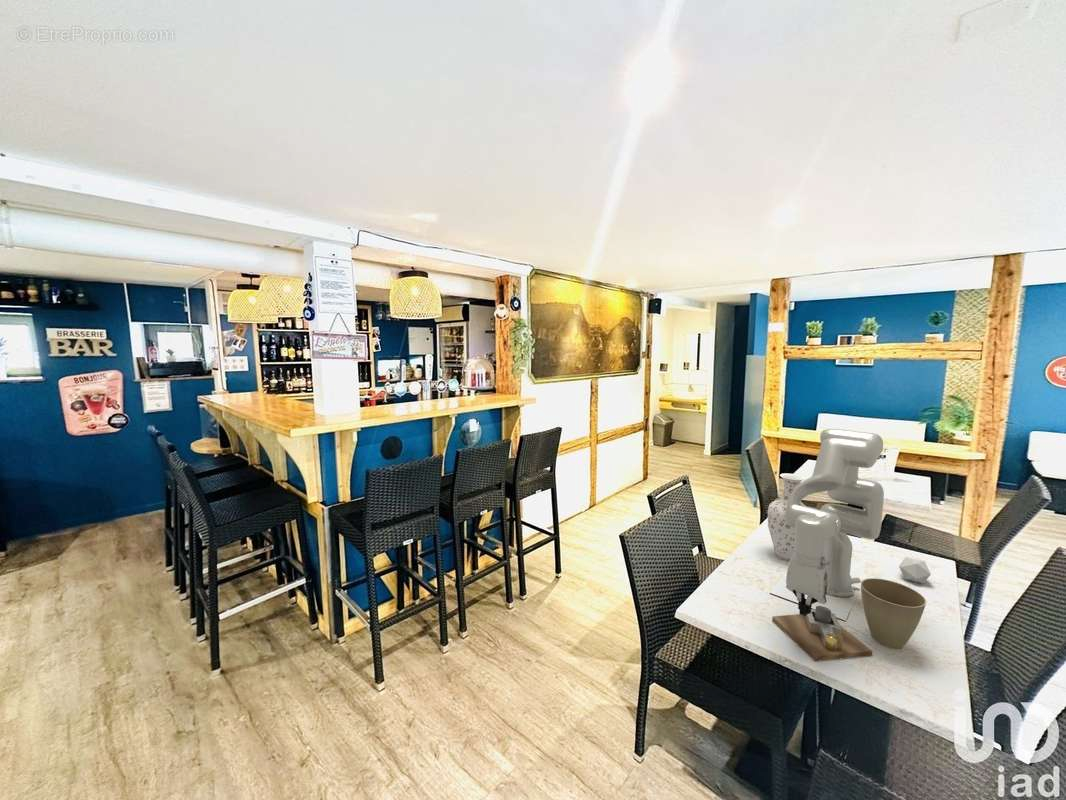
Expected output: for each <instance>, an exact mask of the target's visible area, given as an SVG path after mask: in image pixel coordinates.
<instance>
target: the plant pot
mask: <svg viewBox="0 0 1066 800" xmlns="http://www.w3.org/2000/svg"><path fill="white" fill-rule="evenodd" d="M860 591H861V600H862V601H861V602H862V608H863V611H864V615H865V619H866V623H867V626H868V629H869V632H870V635H871V637H872V639H873V640H874V641H875V642H876V643H878V644H880V645H882V646H883V647H887V648H888V649H889V648H890V649H893V650H901V649H903V648H904V647H905V646H906V644H907V643H908V642H909V640H910V639H911V637H912V636H913V634H914V633H915V631H916V629H917V628H918V626H919V623H920V621H921V619H922V617H923V614H924V610H925V607H926V604H927V599H926V598H925V597H924V595H922V594H921V593H919V591H916V589H913V588H912V587H909V586H907V585H904V584H902V583H899V582H897V581H893V580H889V579H885V578H884V579H883V578H873V577H872V578H865V579H862V580H861V582H860Z"/></svg>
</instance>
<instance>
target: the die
mask: <svg viewBox="0 0 1066 800" xmlns="http://www.w3.org/2000/svg"><path fill="white" fill-rule="evenodd" d="M898 567H899V570H900V573H901V574H902V577H903V579H904V581H905V580H906V581H909V582H913V583H917V584H925V582H926V581H927V580H928V579H929V577H930V576H931V571H930V569H929V567H928V565H927V563H926V562H925V560H922V559H918V558H913V557H910V556H905V557H904V559H903V560H902V562H900V564H899V565H898Z"/></svg>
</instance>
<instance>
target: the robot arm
mask: <svg viewBox="0 0 1066 800" xmlns="http://www.w3.org/2000/svg"><path fill="white" fill-rule="evenodd" d="M819 438H820V443H821V444H820V446H819V451H818V455H817V457H816V460H815V464H814V468H813V473H812V475H811V476H810V477H808V478H805V479H804V480H802V481H801V483H800V484H799V485H798V486H796V487H795V488H794V490H793V491H792V492H791V494H790V497H789V500H788V503H787V507H786V510H785V521H786V523H787V524H788V525H789V526H791V527H793V528H795V539H794V554H793V555H792V557H791V559H790V561H789V563H788V566H787V571H786V579H785V584H786V585H785V588H786V589H787V590H789V591H790V592H792V594H794V596H795V597H796V600H797V602H798V605H797V609H798V610H799V613H798V614H801V615H802V614H803V616H806V615H807V614H810V613H811V609H812V606H813V605H814V604H816V603H818V604H822V605H825V604H826V603H827V602H828V601H827V596H828V595H832V596H836V597H840V598H849V597H852V596H853V595H854V592H855V591H854V588H853V586H852V585H854V584H861V581H862V580H861V579H860V578H859V577H852V576H851V564H852V555H853V543H852V541H851V539H850V537H849V536H848V535H850V536H855V537H858V538H862V539H867V540H876V539H877V538H878V537H880V533H881V530H882V520H883V510H884V509H883V508H884V501H885V498H884V497H885V496H884V495H885V494H884V493H885V492H884V487H883V486H882V484H881V483H879V482H878V481H875V480H871V479H865V478H860V477H859V469H860V468H862V469H870V468H872V467H873V466H874V465H875V464H876V462H877V460H878V459H879V458H880V456H881V454H882V452H883V449H884V441H883V438H882V437H881V435H879V434H878V433H873V432H866V431H857V430H849V429H840V428H826V429H824V430H822V431H821V432H820V436H819ZM822 492H827V496H828V497H829V499H831V500H833V501H836V502H839V503H840V502H841V503H845V504H849V505H853V506H859V507H862V508H863V509H860V508H856V507H852V506H848V505H842V504H838V503H825V504H824V505H822V506H821V507H820V509H819V508H815V507H812V506H807V505H805V504H804V505H805V506H804V505H799V504H800V502H802V500H803V499H805V497H807V496H810V495H813V494H816V493H817V494H818V493H822Z"/></svg>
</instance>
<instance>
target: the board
mask: <svg viewBox="0 0 1066 800" xmlns="http://www.w3.org/2000/svg"><path fill="white" fill-rule="evenodd" d="M814 610H815V621H817V622H822V623H827V624H830V621H831V613H832V610H831V609H830V608H829V607H826V606H824V605H816V606H815V609H814ZM771 618H772V620H771V622H773V623H774V624H775V625H776V626H777V627H778V628H780V629H781V631H783V632H784V633H785V634H786V635H787V636H788V637H789V638H790V639H791V640H792V641H793V642H794V643H795V644H796V643H797V644H796V645H797V646H798V647H800V648H801V650H803V651H804V652H805V653H806V654H807V655H808V656H809V657H810V658H811V657H812V658H813V659H814V660H813V659H812V658H811V659H812V660H813V661H814V662H819V660H822V661H831V660H830V659H832V660H840V658H842V659H851V658H862V657H871V656H873V652H874V651H873V649H872V648H870V647H869V646H867V645H866V644H864V643H863V642H862V641H860V640H859V639H858V638H856V636H854V635H853V634H852V633H850V632H849V631H848V630H847V629H845V628H844V627H843V626H841V629H842V632H841V635H840V634H836V638H837V649H836V650H835V651H831V650H828V649H827V648H826V647H824V646H823V643H822V640H821V637H820V635H819V634H818V633H814V632H809V629H808V626H807V623H806V620H805V617H804V616H803V614H802V615H801V614H799V613H798V614H787V615H786V614H785V615H772V617H771Z"/></svg>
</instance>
